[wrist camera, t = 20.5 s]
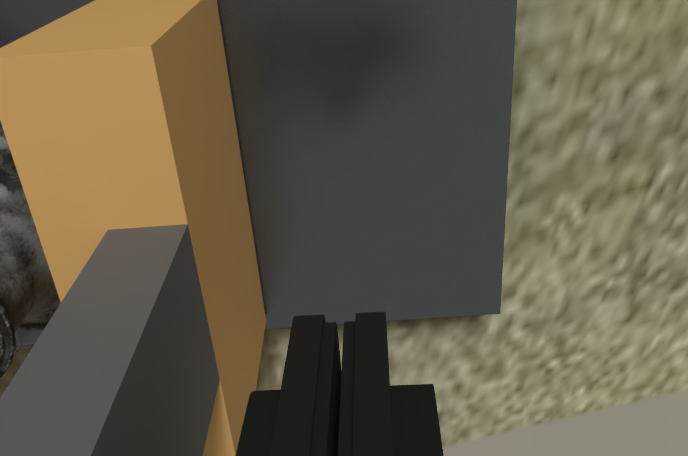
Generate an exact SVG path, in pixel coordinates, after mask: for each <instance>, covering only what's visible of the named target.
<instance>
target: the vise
mask: <svg viewBox="0 0 688 456" xmlns="http://www.w3.org/2000/svg"><path fill="white" fill-rule="evenodd" d="M93 1H95V0H0V48H2V47H4V46H6V45H8V44H10V43H11V42H13V41H15V40H17V39H19V38H21V37H23V36H25V35H27V34H29V33H31V32H33V31H35V30H37V29H39V28H41V27H43V26H45V25H47V24H49V23H51V22H53V21H55V20H57V19H59V18H61V17H63V16H65V15H67V14H69V13H71V12H73V11H75V10H77V9H79V8H81V7H83V6H85V5H87V4H89V3H91V2H93ZM217 5H218V11H219V18H220V24H221V31H222V37H223V44H224V50H225V57H226V63H227V70H228V76H229V83H230V89H231V96H232V102H233V109H234V115H235V122H236V128H237V135H238V141H239V148H240V154H241V161H242V167H243V174H244V180H245V186H246V193H247V199H248V206H249V212H250V219H251V225H252V232H253V238H254V245H255V251H256V258H257V264H258V271H259V277H260V284H261V290H262V297H263V303H264V310H265V316H266V326H265V329H277V328H291V327H292V321H293V317H294V316H301V315H323V314H324V316H325V320H326V322H336V323H337V324H344V322H347V321H355V319H356V313H367V312H386V321H397V320H412V319H427V318H442V317H457V316H472V315H487V314H500V306H501V287H502V268H503V250H504V231H505V212H506V194H507V175H508V156H509V137H510V119H511V100H512V81H513V63H514V44H515V25H516V6H517V0H217ZM42 332H43V330H34V331H23V330H16V332H15V340H16V349H15V353H14V357H15V355H16V354H17V352H18V351H19V349H20V348H21V346H22V345H34V344H35V342H36V341H37V339H38V338H39V336H40V335H41V333H42ZM14 357H13V358H14Z"/></svg>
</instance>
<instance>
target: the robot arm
mask: <svg viewBox="0 0 688 456" xmlns="http://www.w3.org/2000/svg"><path fill="white" fill-rule="evenodd" d="M236 456H443V449H442V442H441V434H440V427H439V420H438V413H437V405H436V398H435V391H434V386H433V384H423V385H397V386H390V381H389V363H388V344H387V326H386V312H367V313H356V319H355V321H347V322H344V334H343V355H342V372H341V362H340V351H339V341H338V331H337V323H336V322H326V320H325V316H324V314H323V315H301V316H294V317H293V321H292V327H291V333H290V339H289V345H288V351H287V357H286V362H285V368H284V374H283V380H282V386H281V390H266V391H252V392H251V394H250V396H249V400H248V403H247V408H246V412H245V417H244V421H243V425H242V430H241V434H240V438H239V443H238V447H237V451H236Z"/></svg>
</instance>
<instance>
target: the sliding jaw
mask: <svg viewBox="0 0 688 456" xmlns="http://www.w3.org/2000/svg"><path fill="white" fill-rule="evenodd" d="M0 121H1V124H2V127H3V130H4V133H5V136H6V139H7V142H8V145H9V148H10V151H11V154H12V157H13V160H14V163H15V166H16V169H17V172H18V175H19V178H20V181H21V184H22V187H23V190H24V193H25V196H26V199H27V202H28V205H29V208H30V211H31V214H32V217H33V220H34V223H35V226H36V229H37V232H38V235H39V238H40V242H41V245H42V248H43V251H44V254H45V257H46V260H47V263H48V266H49V269H50V272H51V275H52V278H53V281H54V284H55V287H56V290H57V293H58V296H59V299H60V302H61V304H60V305H59V307H58V308H57V310H56V311H55V313H54V314H53V316H52V318H51V319H50V321H49V322H48V324H47V325H46V327H45V328H44V330H43V332H42V333H41V335H40V336H39V338H38V339H37V341H36V342H35V344H34V346H33V347H32V349H31V350H30V352H29V353H28V355H27V357H26V358H25V360H24V361H23V363H22V364H21V366H20V367H19V369H18V371H17V372H16V374H15V375H14V377H13V378H12V380H11V381H10V383H9V385H8V386H7V388H6V389H5V391H4V392H3V394H2V396H1V397H0V456H236V451H237V447H238V443H239V438H240V434H241V430H242V425H243V421H244V417H245V412H246V408H247V403H248V400H249V396H250V394H251V392H252V391H256V387H257V380H258V373H259V366H260V360H261V353H262V346H263V339H264V333H265V326H266V316H265V310H264V303H263V297H262V290H261V284H260V277H259V271H258V264H257V258H256V251H255V245H254V238H253V232H252V225H251V219H250V212H249V206H248V199H247V193H246V186H245V180H244V174H243V167H242V161H241V154H240V148H239V141H238V135H237V128H236V122H235V115H234V109H233V102H232V96H231V89H230V83H229V76H228V70H227V63H226V57H225V50H224V44H223V37H222V31H221V24H220V18H219V11H218V5H217V0H95V1H93V2H91V3H89V4H87V5H85V6H83V7H81V8H79V9H77V10H75V11H73V12H71V13H69V14H67V15H65V16H63V17H61V18H59V19H57V20H55V21H53V22H51V23H49V24H47V25H45V26H43V27H41V28H39V29H37V30H35V31H33V32H31V33H29V34H27V35H25V36H23V37H21V38H19V39H17V40H15V41H13V42H11V43H10V44H8V45H6V46H4V47H2V48H0Z"/></svg>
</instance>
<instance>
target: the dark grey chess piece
mask: <svg viewBox="0 0 688 456" xmlns="http://www.w3.org/2000/svg"><path fill="white" fill-rule="evenodd" d="M60 304H61V302H60V299H59V296H58V293H57V290H56V287H55V284H54V281H53V278H52V275H51V272H50V269H49V266H48V263H47V260H46V257H45V254H44V251H43V248H42V245H41V242H40V238H39V235H38V232H37V229H36V226H35V223H34V220H33V217H32V214H31V211H30V208H29V205H28V202H27V199H26V196H25V193H24V190H23V187H22V184H21V181H20V178H19V175H18V172H17V169H16V166H15V163H14V160H13V157H12V154H11V151H10V148H9V145H8V142H7V139H6V136H5V133H4V130H3V127H2V124H1V121H0V378H1V377H2V375H3V374H4V373H5V371H6V370H7V368H8V367H9V366H10V364H11V363H12V360H13V357H14V353H15V349H16V340H15V332H16V330H23V331H34V330H44V328H45V327H46V325H47V324H48V322H49V321H50V319H51V318H52V316H53V314H54V313H55V311H56V310H57V308H58V307H59V305H60Z"/></svg>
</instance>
